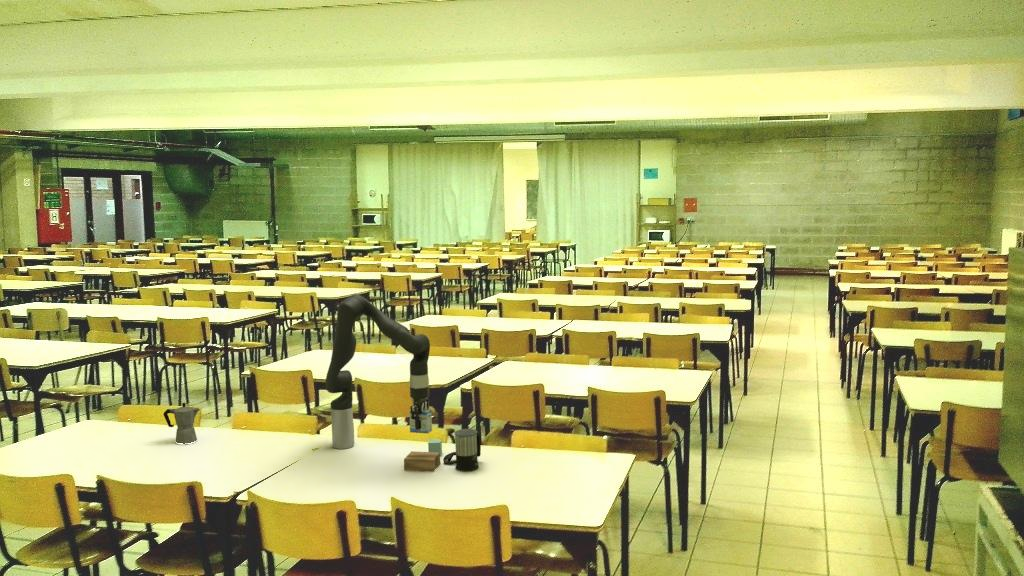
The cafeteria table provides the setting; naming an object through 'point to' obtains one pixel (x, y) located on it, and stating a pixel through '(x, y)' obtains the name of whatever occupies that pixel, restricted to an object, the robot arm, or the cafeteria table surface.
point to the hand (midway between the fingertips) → (420, 427)
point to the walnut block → (421, 461)
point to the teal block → (435, 445)
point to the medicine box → (422, 422)
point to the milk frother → (465, 450)
